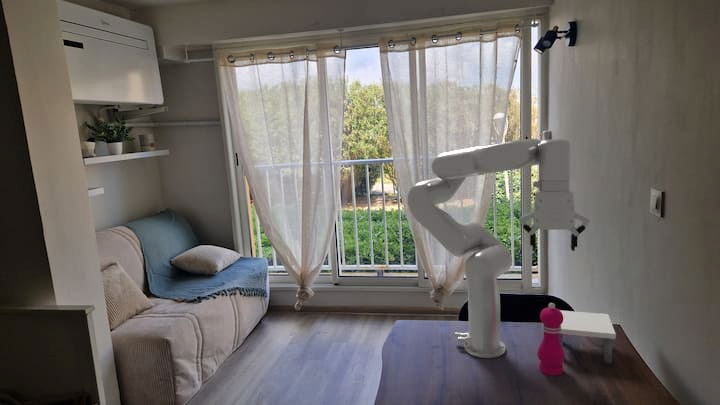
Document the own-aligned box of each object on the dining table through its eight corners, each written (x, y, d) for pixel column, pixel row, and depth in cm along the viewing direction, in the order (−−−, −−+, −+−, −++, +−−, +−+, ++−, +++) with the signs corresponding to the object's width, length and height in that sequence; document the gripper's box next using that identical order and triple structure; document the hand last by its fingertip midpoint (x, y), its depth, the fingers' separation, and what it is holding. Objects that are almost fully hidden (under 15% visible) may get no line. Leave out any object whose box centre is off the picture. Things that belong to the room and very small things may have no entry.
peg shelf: (553, 358, 136) (554, 328, 135) (551, 337, 149) (552, 309, 148) (614, 365, 131) (615, 334, 129) (607, 342, 144) (608, 314, 142)
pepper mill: (567, 377, 126) (569, 308, 123) (539, 376, 127) (540, 307, 124) (561, 364, 133) (562, 298, 130) (535, 362, 134) (535, 297, 131)
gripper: (519, 188, 121) (519, 251, 124) (592, 188, 115) (590, 254, 118) (519, 184, 128) (519, 244, 131) (588, 184, 122) (587, 246, 125)
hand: (553, 248), depth 124 cm, fingers open, 9 cm apart
